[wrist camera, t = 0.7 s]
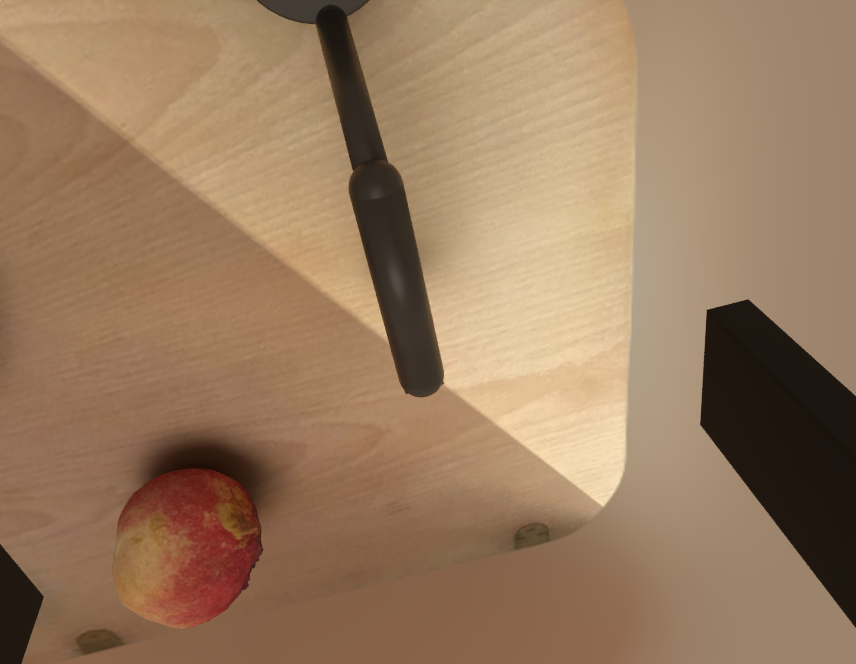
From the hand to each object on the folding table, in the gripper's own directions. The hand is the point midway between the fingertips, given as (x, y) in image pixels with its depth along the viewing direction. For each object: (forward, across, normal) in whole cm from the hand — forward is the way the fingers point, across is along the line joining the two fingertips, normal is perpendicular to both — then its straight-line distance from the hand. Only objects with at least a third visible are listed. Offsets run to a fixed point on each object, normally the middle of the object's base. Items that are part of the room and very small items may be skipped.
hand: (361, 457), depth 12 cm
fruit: (+22, -12, -19) cm, 31 cm away
